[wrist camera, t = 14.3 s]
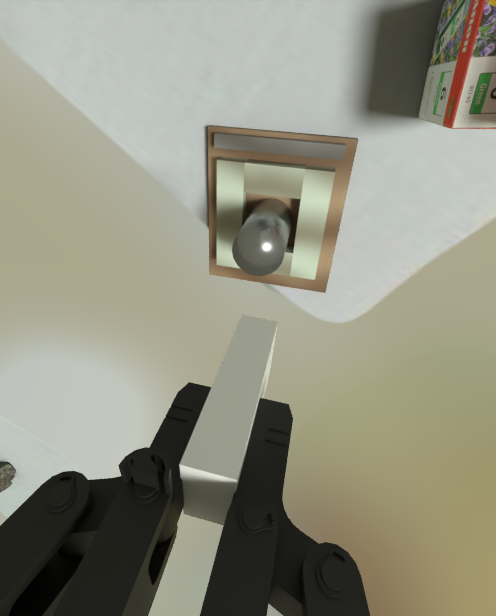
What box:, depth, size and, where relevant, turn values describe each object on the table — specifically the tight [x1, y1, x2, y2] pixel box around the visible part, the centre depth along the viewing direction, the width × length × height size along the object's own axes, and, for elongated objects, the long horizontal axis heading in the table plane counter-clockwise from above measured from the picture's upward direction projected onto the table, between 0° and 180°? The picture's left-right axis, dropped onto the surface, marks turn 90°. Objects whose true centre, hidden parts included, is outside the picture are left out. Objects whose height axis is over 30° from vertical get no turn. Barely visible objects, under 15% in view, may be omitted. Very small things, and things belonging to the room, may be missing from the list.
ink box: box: [418, 0, 496, 129], centre depth 21 cm, size 4×8×15 cm, turn 2°
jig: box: [208, 125, 358, 293], centre depth 35 cm, size 16×14×3 cm
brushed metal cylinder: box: [232, 198, 293, 276], centre depth 32 cm, size 4×4×9 cm
